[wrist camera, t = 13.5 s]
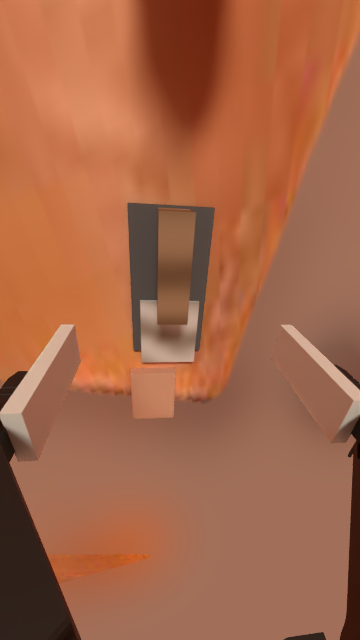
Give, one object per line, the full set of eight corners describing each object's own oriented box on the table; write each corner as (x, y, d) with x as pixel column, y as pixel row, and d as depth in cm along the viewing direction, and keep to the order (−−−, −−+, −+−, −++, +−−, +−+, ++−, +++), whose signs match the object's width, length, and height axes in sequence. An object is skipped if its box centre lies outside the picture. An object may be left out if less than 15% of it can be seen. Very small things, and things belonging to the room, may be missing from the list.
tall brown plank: (138, 206, 27) (133, 209, 22) (207, 210, 28) (219, 213, 23) (141, 360, 37) (139, 387, 32) (193, 359, 38) (199, 386, 33)
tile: (131, 366, 39) (134, 411, 43) (130, 373, 37) (133, 419, 42) (174, 365, 40) (172, 409, 44) (175, 372, 38) (173, 417, 43)
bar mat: (133, 348, 37) (133, 350, 36) (128, 202, 28) (127, 202, 27) (198, 347, 38) (199, 350, 37) (213, 207, 29) (214, 207, 28)
